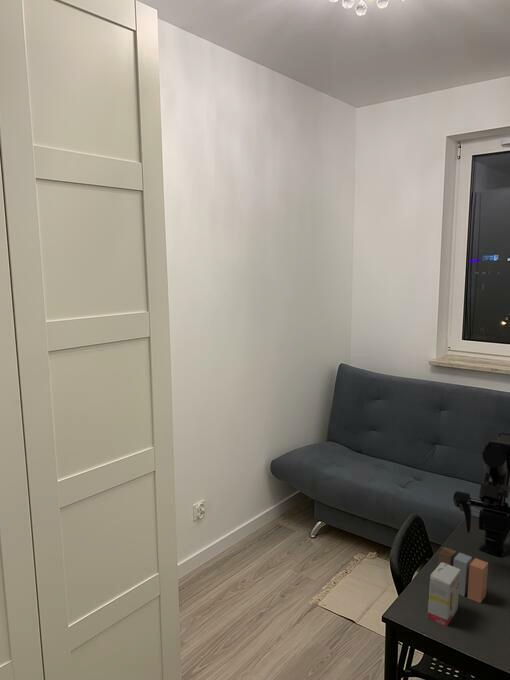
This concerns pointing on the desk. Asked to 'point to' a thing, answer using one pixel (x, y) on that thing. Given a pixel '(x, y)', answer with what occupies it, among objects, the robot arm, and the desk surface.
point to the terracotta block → (477, 580)
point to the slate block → (463, 571)
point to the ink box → (443, 593)
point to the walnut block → (446, 556)
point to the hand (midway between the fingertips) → (485, 537)
